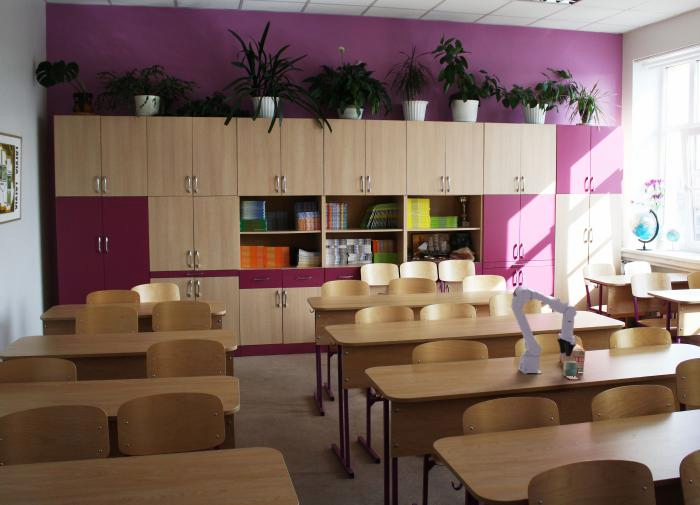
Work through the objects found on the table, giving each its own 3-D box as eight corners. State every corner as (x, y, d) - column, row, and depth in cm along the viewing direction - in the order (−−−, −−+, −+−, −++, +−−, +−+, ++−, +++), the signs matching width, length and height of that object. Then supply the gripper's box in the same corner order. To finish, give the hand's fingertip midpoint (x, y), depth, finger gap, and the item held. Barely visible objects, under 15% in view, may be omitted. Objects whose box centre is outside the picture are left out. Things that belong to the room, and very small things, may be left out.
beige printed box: (558, 361, 378) (560, 338, 376) (570, 361, 378) (572, 339, 376) (571, 373, 357) (573, 350, 355) (583, 373, 357) (585, 350, 355)
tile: (565, 376, 350) (566, 362, 349) (562, 374, 353) (563, 361, 352) (576, 375, 351) (577, 362, 350) (573, 374, 354) (574, 360, 353)
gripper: (581, 332, 348) (579, 358, 350) (568, 324, 362) (566, 350, 364) (568, 332, 347) (566, 358, 349) (555, 325, 361) (553, 350, 363)
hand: (565, 354), depth 356 cm, fingers open, 5 cm apart
